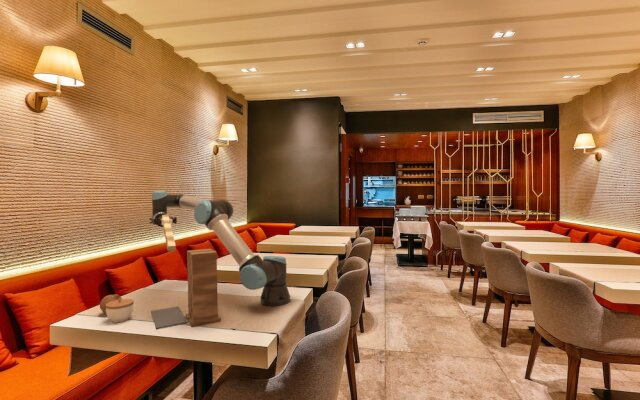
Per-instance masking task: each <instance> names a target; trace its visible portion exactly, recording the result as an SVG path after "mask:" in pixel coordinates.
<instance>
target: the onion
mask: <svg viewBox="0 0 640 400" xmlns="http://www.w3.org/2000/svg"><path fill="white" fill-rule="evenodd" d="M118 299H123V298H122V297H121V296H120V295H119V294H117V293H115V294H109V295H106V296H104V297H103V298H101V301H100V302H99V308H100V311H101V312H102V313H103V314H105V315H107V314H106V306H105V305H106V304H107V303H109V302H111V301H115V300H118Z"/></svg>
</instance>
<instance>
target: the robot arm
mask: <svg viewBox="0 0 640 400" xmlns="http://www.w3.org/2000/svg"><path fill="white" fill-rule="evenodd" d="M151 202H152V205H151V206H152V209H151V210H152V211H151V212H152V214H151V218H150V217H149V221H148V222H149V224H150V225H151V224H152V225H156V226H158V227H160V228H163V225H164V219H162V215H169V214H168V208H181V209H186V210H190V211H194V212H193V217H194V220H195V221H196V223H198V224H200V225H205V227H206V228H207V230H209V231H213V232H214V234H215V235H216V236H217V238H218V239H219V241H220V242H221V243H222V244H223V246H224V247H225V249H226V250H227V251H228V252H229V254H230V255H231V256H232V258H233V259H234V261H235V262H236V263H237V264H238V267H239V268H238V271H239V280H240V283H241V284H242V286H244V287H245V288H246V289H247V290H251V291H252V290H253V291H254V290H258V289H259V290H260V289H262V292H261V296H260V303H261V304H262V305H264V306H271V307H274V306H277V305H278V306H283V305H286V303H287V304H288V302H289V303H290V302H291V294H290V292H289V289H288V284H287V280H288V279H287V258H286V257H285V256H279V255H277V256H276V255H264V256H263V258H261V256H260V255H259V254H254V253H253V251H252V250H251V249H250V247H249V246H248V245H247V244H246V242H245V241H244V240H243V238H242V237H241V235H240V234H239V233H238V232H237V230H235V228H234V226H232V224H231V223H230V222H229V220H230V219H231V218H232V216H233V213H234V207H233V204H232V203H231V202H230V201H227V200H225V199H206V198H201V197H195V196H189V195H187V194H185V193H184V194H183V193H179V194H174V193H173V194H171V193H167V191H165V190H155V191H152V194H151ZM169 219H170V224H171V226H173V225H174V224H177V223H178V217H176V216H175V217H172V216H171V217H170V216H169Z"/></svg>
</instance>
